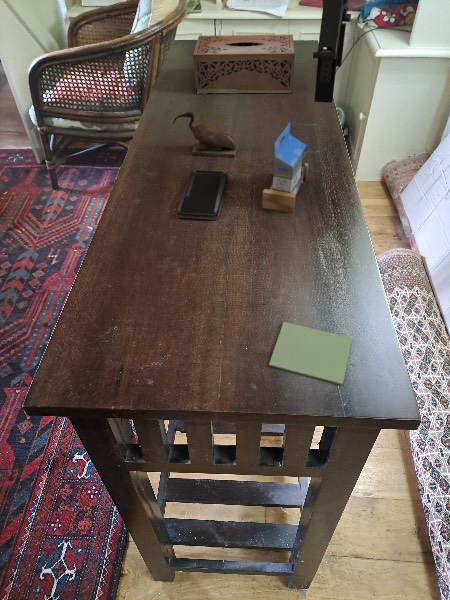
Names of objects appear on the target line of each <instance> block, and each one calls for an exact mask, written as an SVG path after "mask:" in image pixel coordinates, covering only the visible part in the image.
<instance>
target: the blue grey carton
mask: <svg viewBox="0 0 450 600" xmlns="http://www.w3.org/2000/svg"><path fill="white" fill-rule="evenodd" d="M283 138H284V139H283ZM273 147H274V148H273V149H274V162H273V175H272V176H273V177H272V183H273V190H274V191H280V192H286V193H292V194H296V195H297V194H298V193H299V190H301V187H302V185H303V183H304V181H303V176H304V167H305V163H306V156H307V148H308V147H307V144H306V143H304V142H302V141H301V140H299V139H298V138H296V137H295V136H293V135H291V121H289V122H288V124H287V125H286V126H285V128H284V129H283V130H282V131H281V133H280V135H279V136H277V139H276V140H275V141H274V143H273Z"/></svg>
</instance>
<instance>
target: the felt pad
mask: <svg viewBox="0 0 450 600" xmlns="http://www.w3.org/2000/svg"><path fill="white" fill-rule="evenodd" d="M352 342H353V337H350V336H345V335H341V334H337V333H333V332H328V331H324V330H320V329H317V328H316V329H315V328H312V327H308V326H303V325H299V324H295V323H290V322H287V321H283V322H282V325H281V328H280V331H279V334H278V337H277V340H276V342H275V346H274V349H273V351H272V355H271V357H270V360H269V362H268V366H269V367H272V368H276V369H278V370H279V369H280V370H283V371H286V372H291V373H294V374H299V375H302V376H305V377H310V378H314V379H317V380H320V381H325V382H329V383H332V384H336V385H340V386H344V382H345V376H346V371H347V367H348V361H349V357H350V351H351V347H352Z"/></svg>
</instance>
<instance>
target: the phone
mask: <svg viewBox="0 0 450 600" xmlns="http://www.w3.org/2000/svg"><path fill="white" fill-rule="evenodd" d="M228 176H229V175H228V172H226V171H219V170H218V171H216V170H215V171H214V170H196V169H195V170H192V171H191V172H190V173H189V176H188V179H187V182H186V185H185V188H184V190H183V193H182V196H181V199H180V202H179V205H178V208H177V216H178V217H179V218H180V219H185V220H186V219H187V220H188V219H189V220H204V221H205V220H206V221H208V220H209V221H215V220H218V219H219V218H220V214H221V210H222V206H223V201H224V197H225V193H226V189H227V185H228V180H229V177H228Z"/></svg>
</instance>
